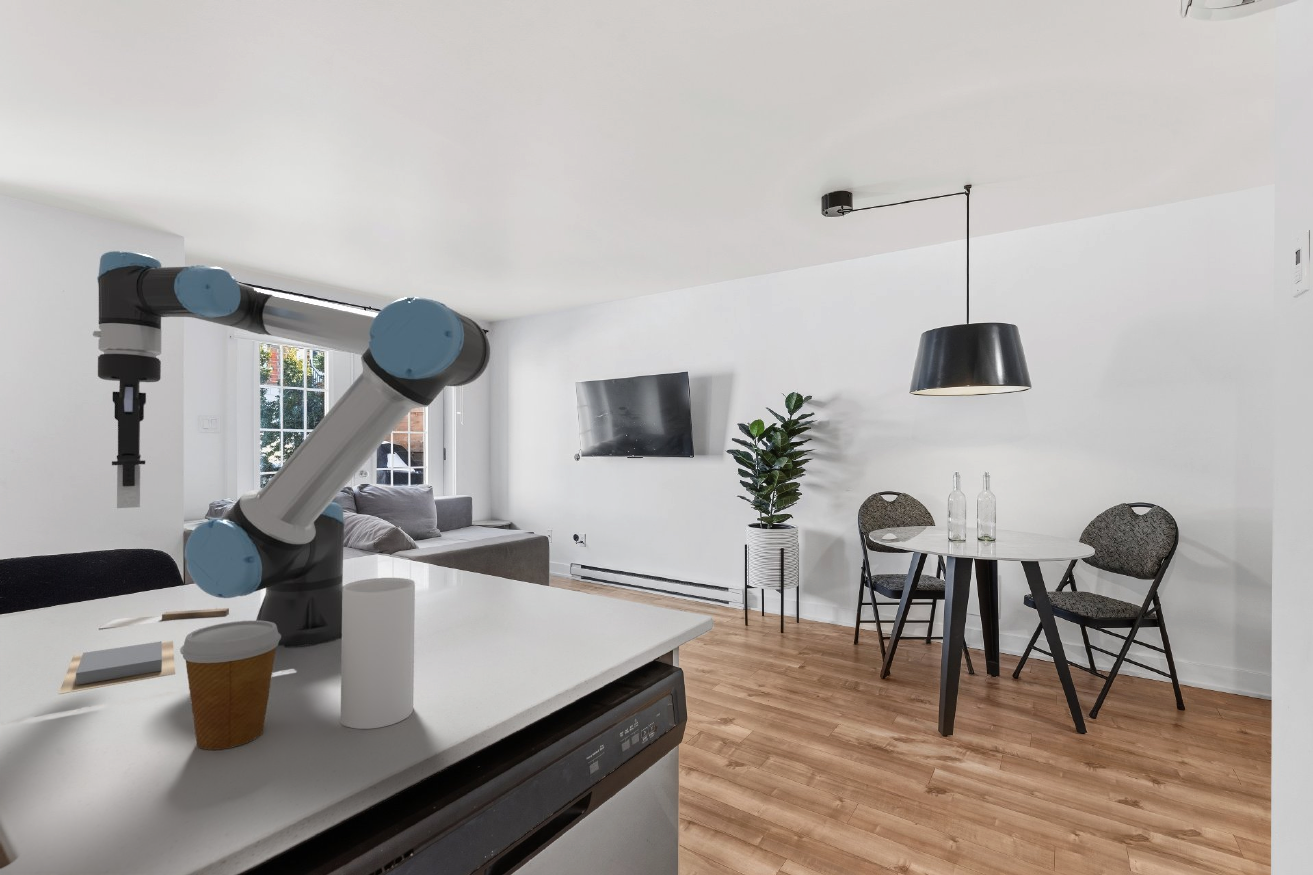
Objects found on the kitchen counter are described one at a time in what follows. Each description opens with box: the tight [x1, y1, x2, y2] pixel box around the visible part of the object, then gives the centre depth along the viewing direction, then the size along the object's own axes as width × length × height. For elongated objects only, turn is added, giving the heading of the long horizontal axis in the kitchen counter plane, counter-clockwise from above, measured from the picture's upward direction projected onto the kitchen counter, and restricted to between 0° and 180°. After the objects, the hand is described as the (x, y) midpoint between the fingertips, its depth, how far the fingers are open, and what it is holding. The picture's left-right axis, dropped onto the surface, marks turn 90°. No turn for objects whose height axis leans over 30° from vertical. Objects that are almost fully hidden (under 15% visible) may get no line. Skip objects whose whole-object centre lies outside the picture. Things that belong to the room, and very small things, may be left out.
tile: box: [76, 641, 163, 685], centre depth 91 cm, size 2×9×10 cm
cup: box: [340, 577, 416, 730], centre depth 78 cm, size 8×8×16 cm
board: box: [58, 640, 176, 695], centre depth 93 cm, size 18×12×1 cm, turn 38°
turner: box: [98, 607, 230, 631], centre depth 117 cm, size 18×6×2 cm, turn 108°
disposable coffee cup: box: [179, 620, 281, 751], centre depth 72 cm, size 10×10×12 cm
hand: (128, 507), depth 98 cm, fingers closed
